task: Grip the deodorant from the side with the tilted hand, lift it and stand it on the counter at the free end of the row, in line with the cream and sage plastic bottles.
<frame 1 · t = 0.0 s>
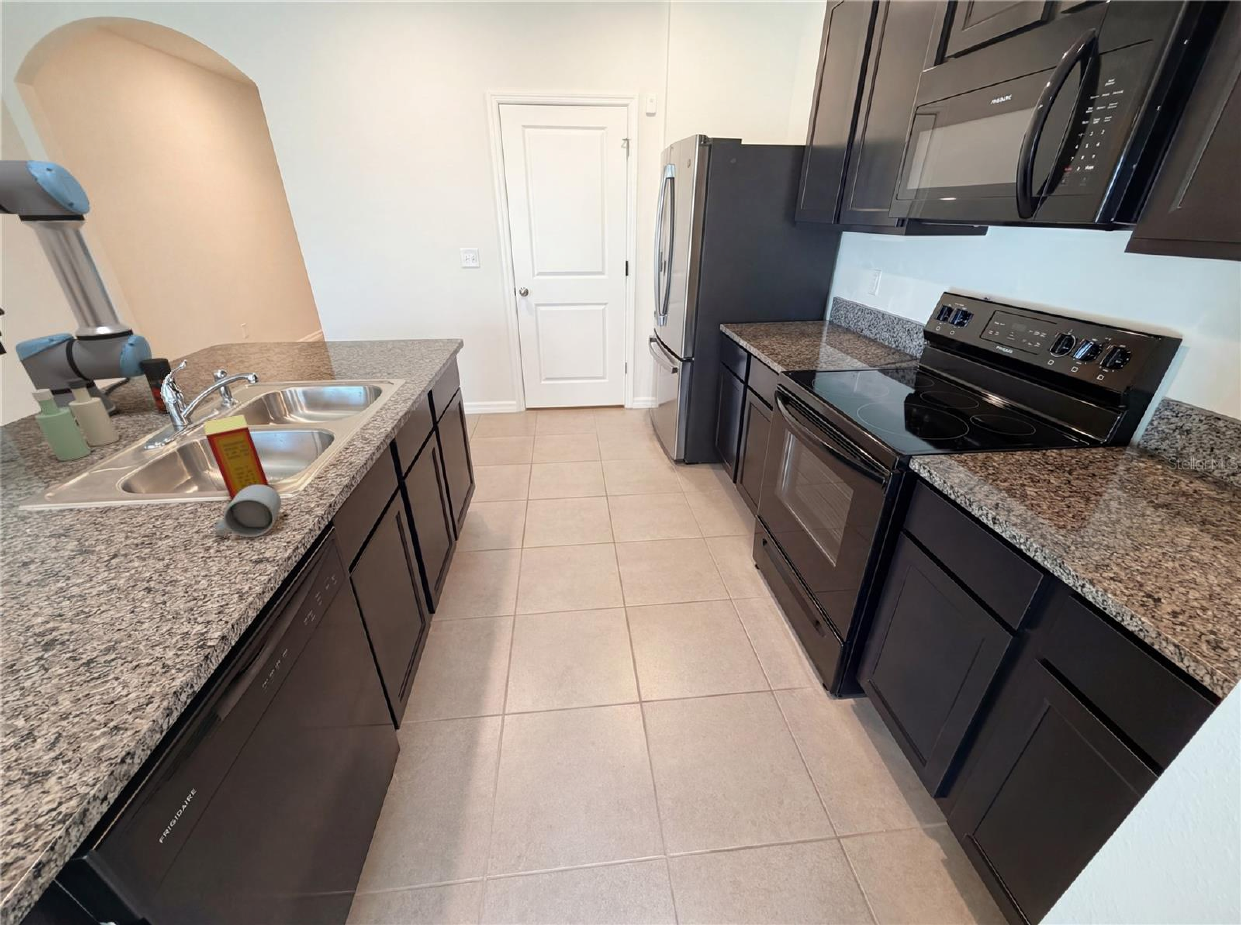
bottle a: (104, 441, 131), on the counter
deodorant: (172, 410, 152), on the counter, touching arm
ceramic mug: (252, 529, 94), on the counter
baking soda box: (252, 494, 105), on the counter
bottle b: (74, 455, 123), on the counter
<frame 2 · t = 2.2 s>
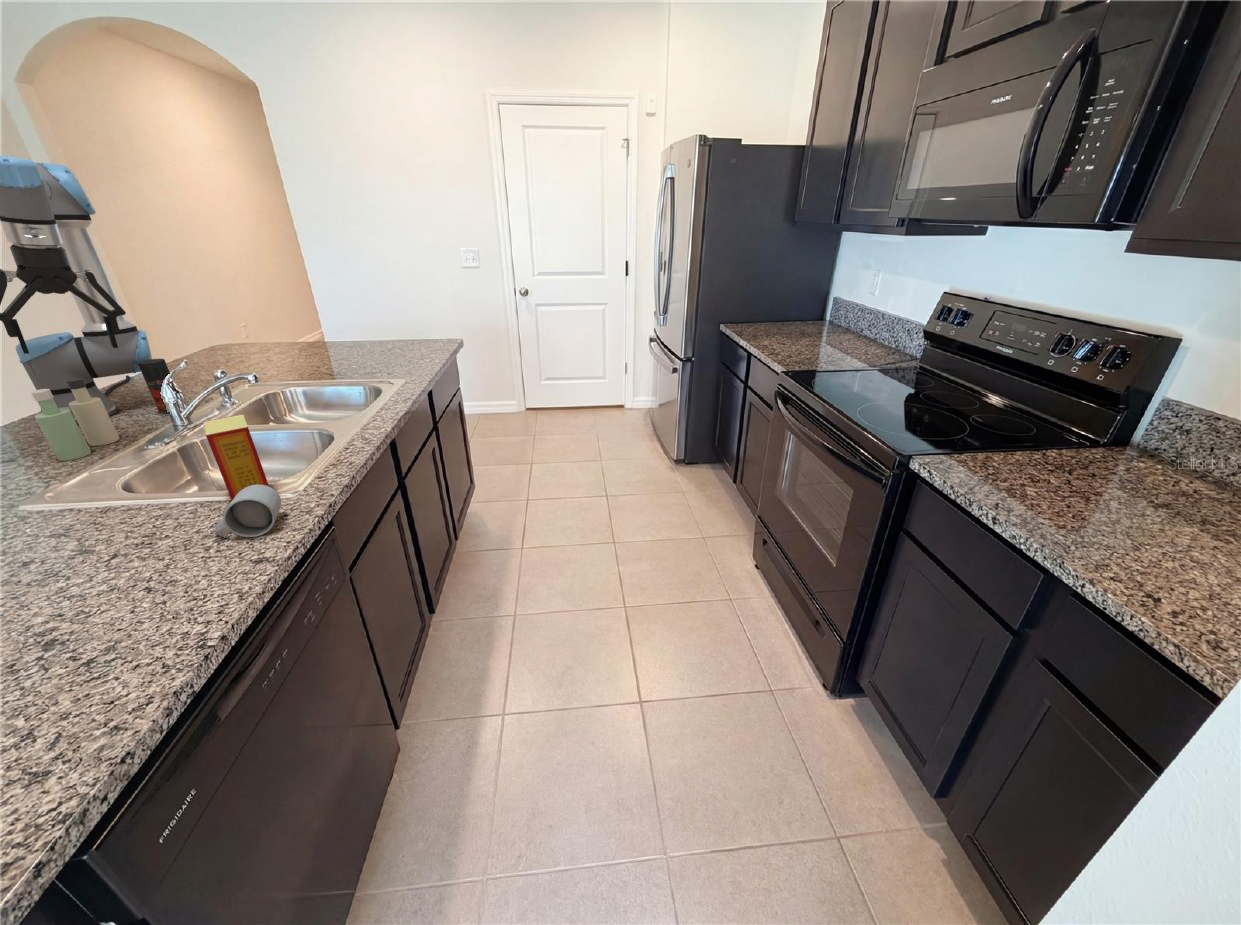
hand: (72, 349, 111), 26 cm above the counter, tool pointing down, fingers open, 13 cm apart
deodorant: (172, 411, 152), on the counter
everything else where it was.
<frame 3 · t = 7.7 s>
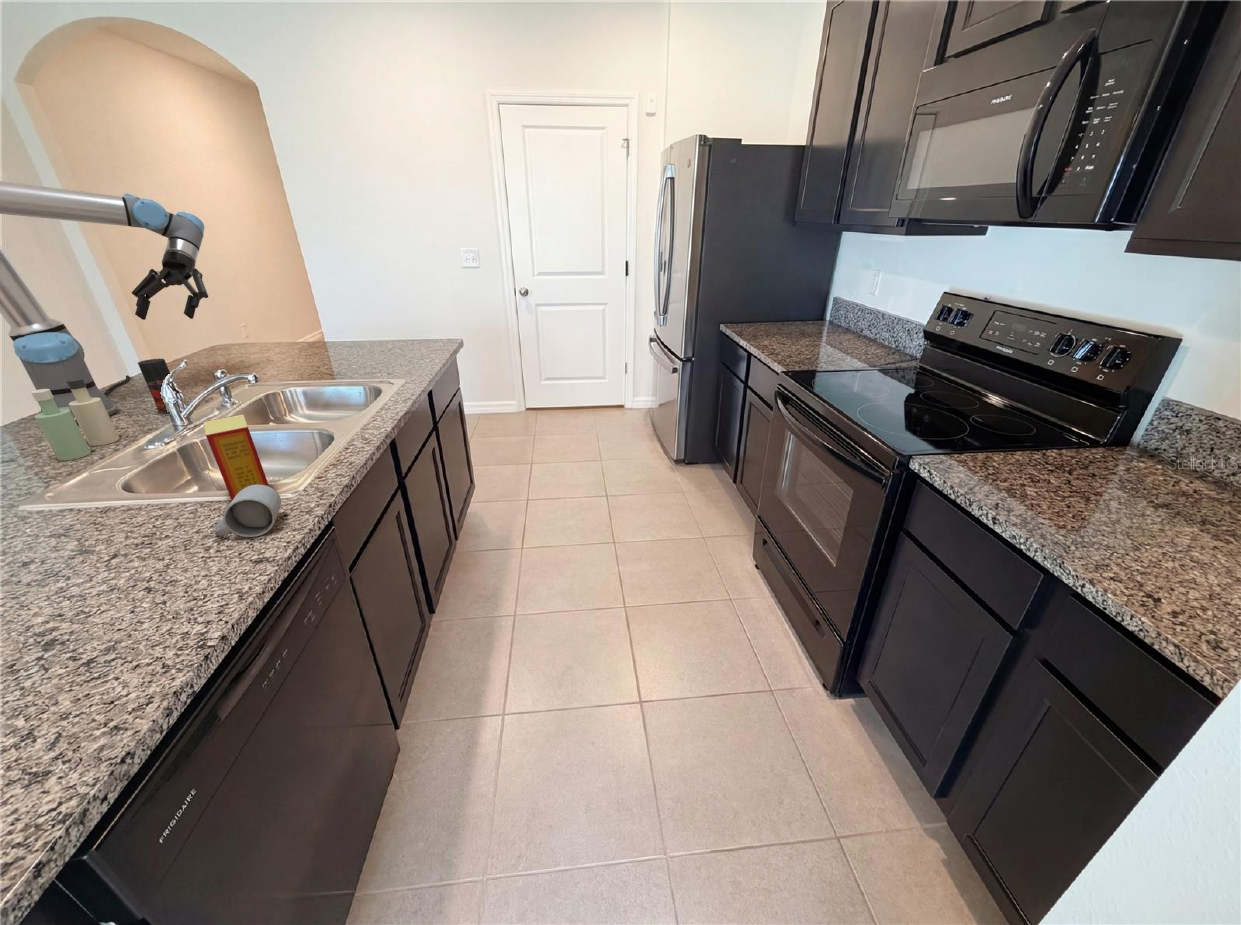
hand: (164, 316, 150), 26 cm above the counter, tool tilted 45°, fingers open, 13 cm apart
nothing on the counter moved.
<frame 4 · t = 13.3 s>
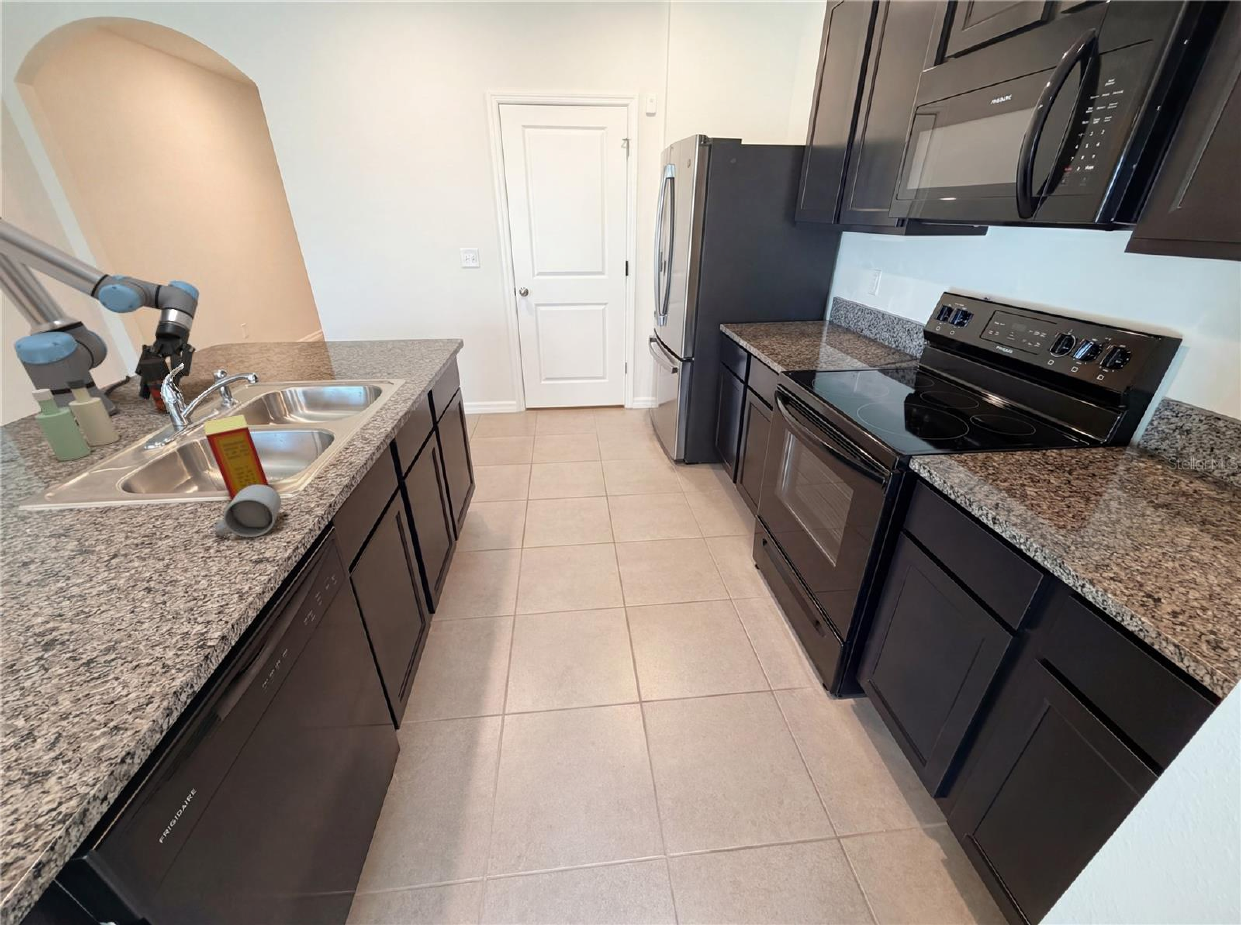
hand: (156, 397, 146), 5 cm above the counter, tool tilted 45°, fingers closed on deodorant, 6 cm apart
deodorant: (172, 410, 152), on the counter, touching gripper
everything else where it was.
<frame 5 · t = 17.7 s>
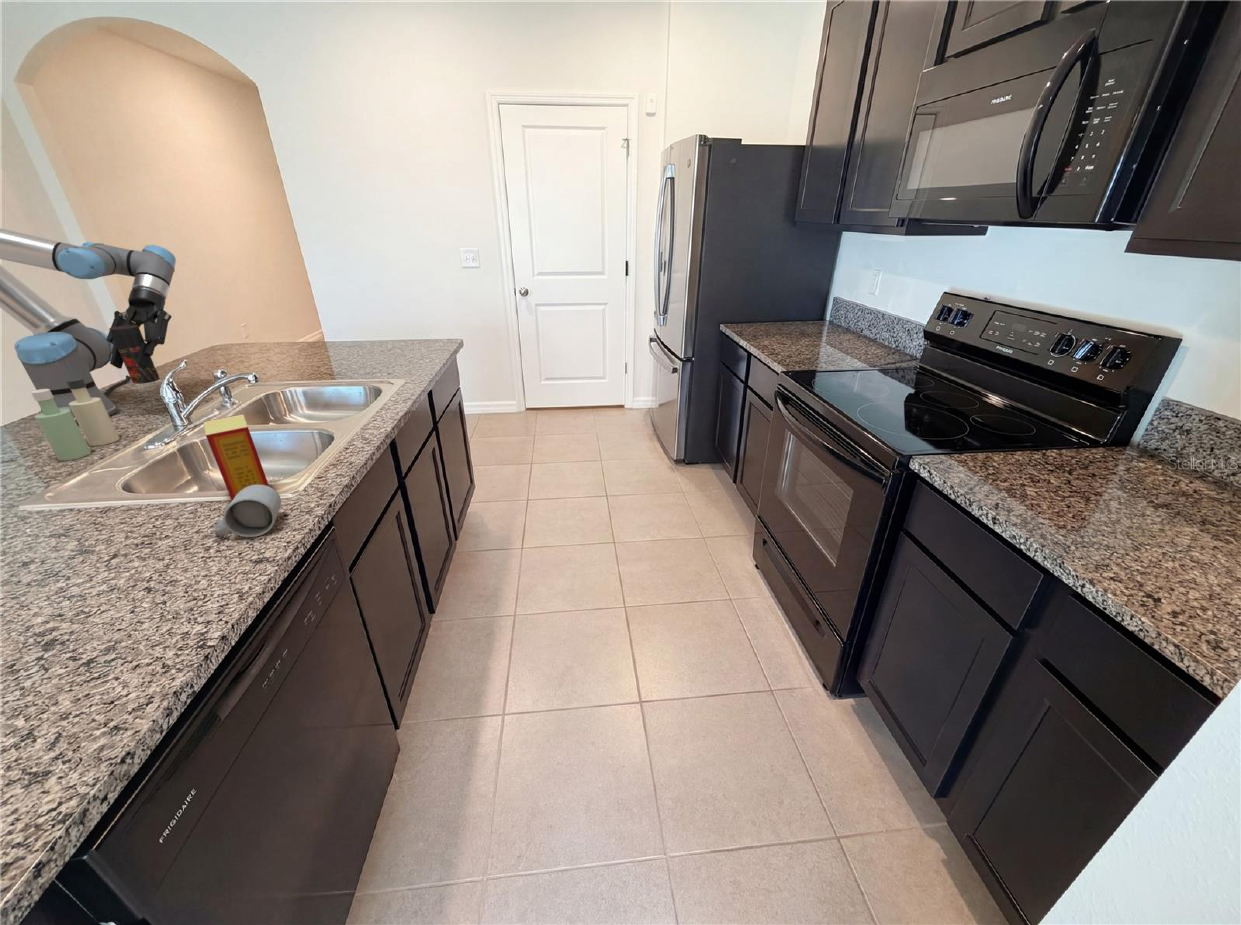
hand: (128, 365, 138), 16 cm above the counter, tool tilted 45°, fingers closed on deodorant, 6 cm apart
deodorant: (146, 381, 144), point 10 cm above the counter, touching gripper
everything else where it was.
when the fingers open (5 cm above the counter, at t = 22.2 s): deodorant stays where it is, on the counter.
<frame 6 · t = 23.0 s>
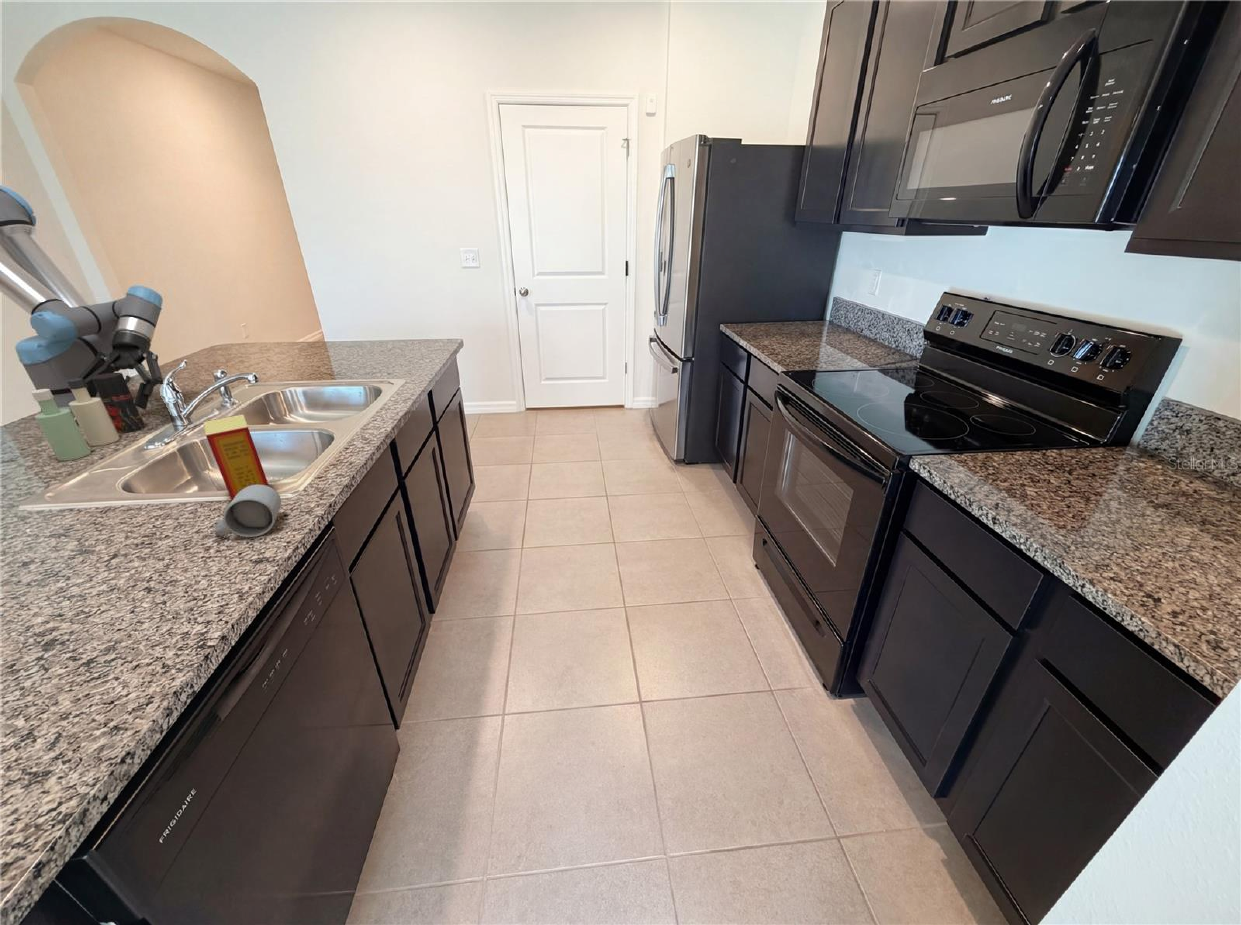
hand: (112, 407, 133), 7 cm above the counter, tool tilted 45°, fingers open, 13 cm apart
deodorant: (131, 429, 139), on the counter
everything else where it was.
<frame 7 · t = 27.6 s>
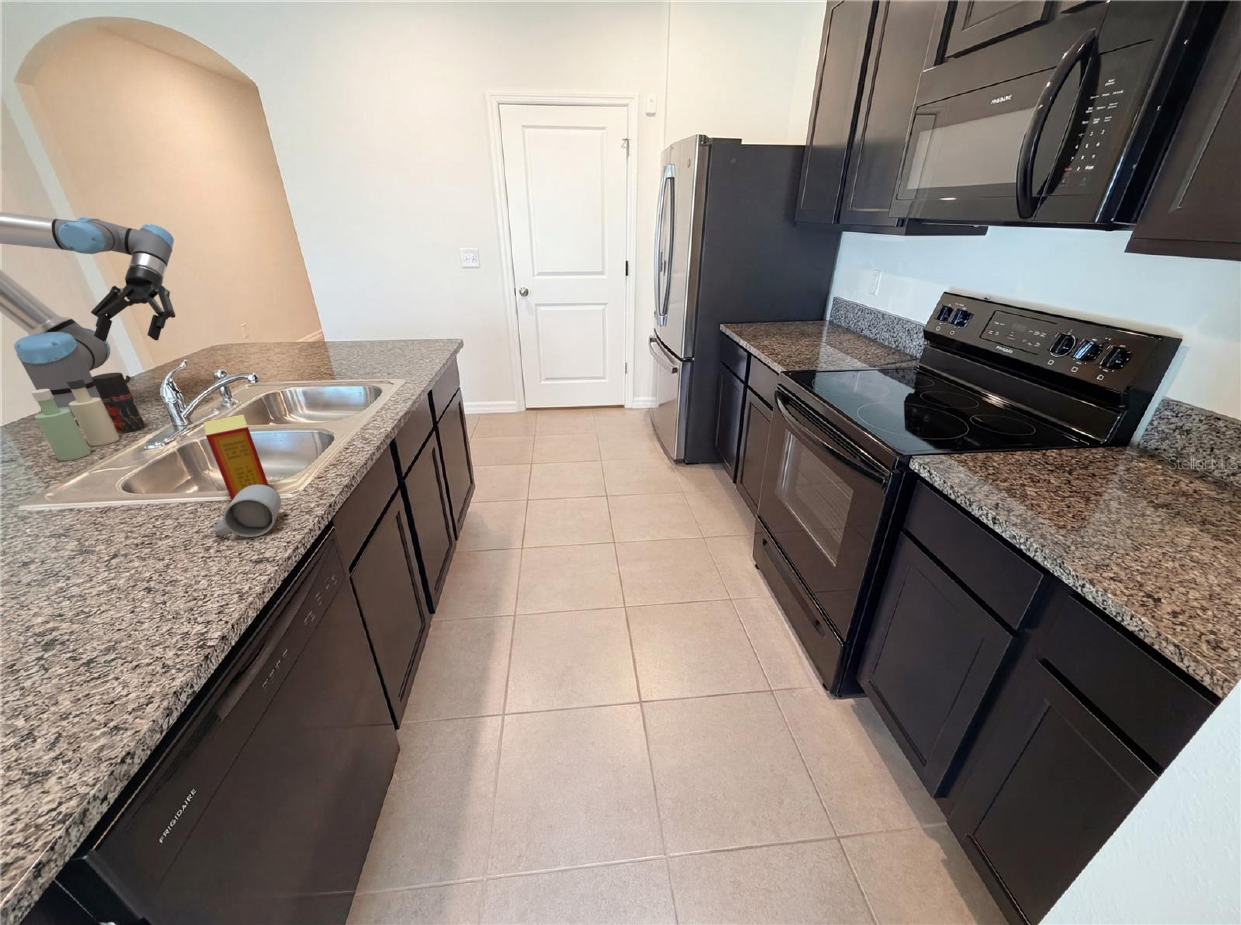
hand: (126, 338, 138), 22 cm above the counter, tool tilted 45°, fingers open, 13 cm apart
nothing on the counter moved.
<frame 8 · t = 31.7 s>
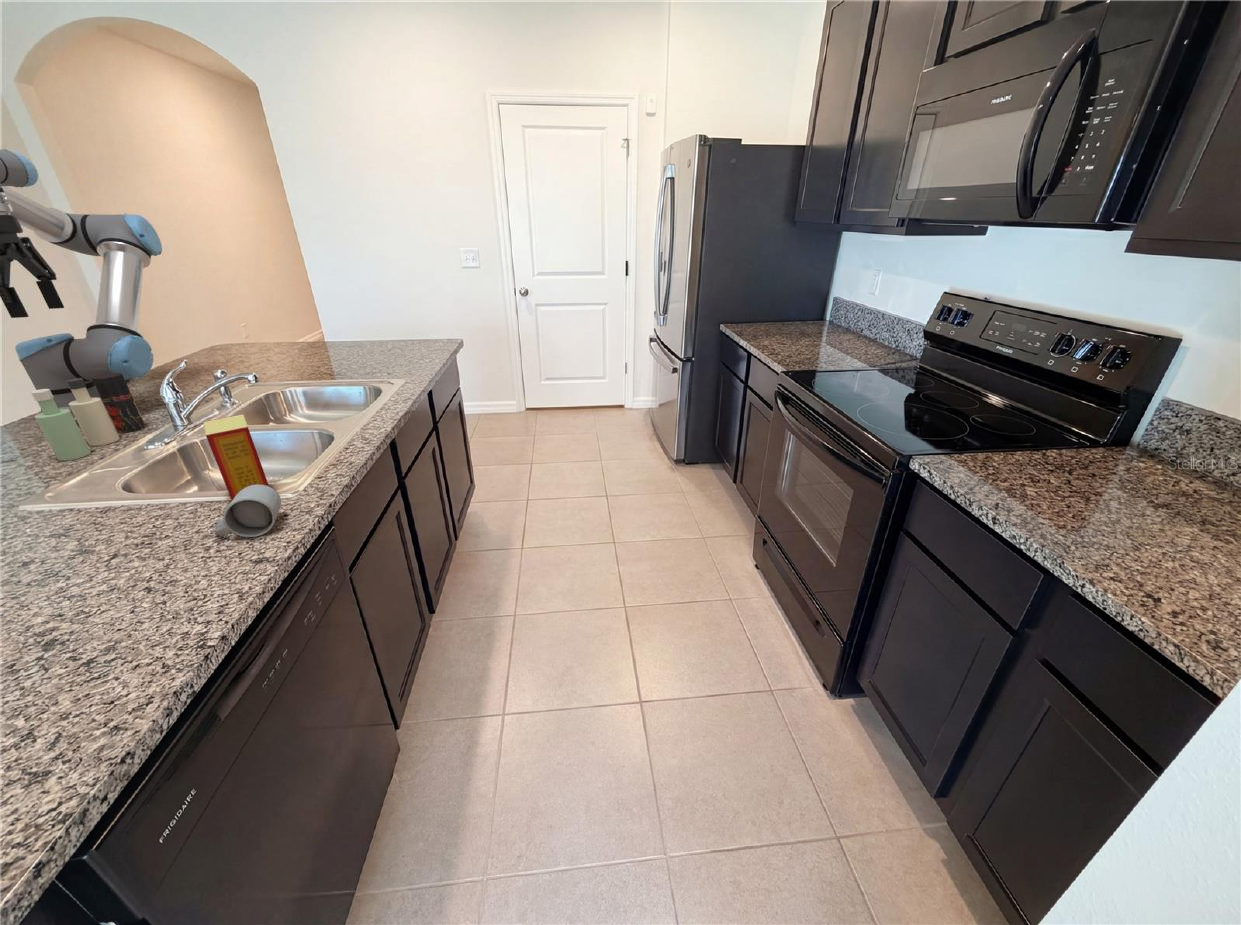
hand: (39, 312, 121), 32 cm above the counter, tool pointing down, fingers open, 13 cm apart
nothing on the counter moved.
at the end: deodorant 0.4 cm from the target spot on the counter beside the bottle a, on the counter; deodorant tilted 0°; bottle a tilted 0° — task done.
